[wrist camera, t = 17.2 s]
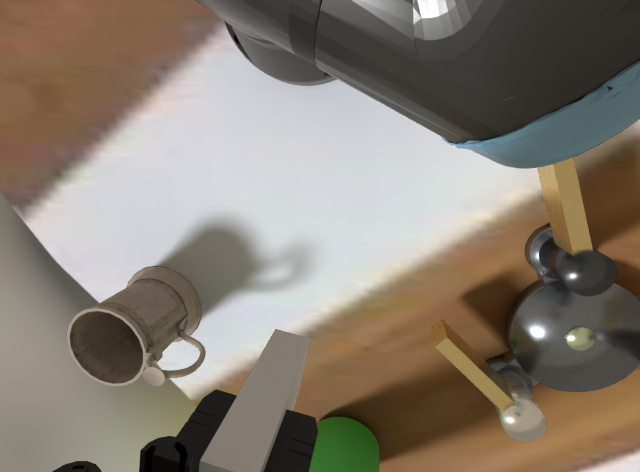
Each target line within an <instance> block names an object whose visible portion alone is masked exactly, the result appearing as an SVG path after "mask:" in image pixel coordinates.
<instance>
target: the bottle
mask: <svg viewBox="0 0 640 472" xmlns="http://www.w3.org/2000/svg"><path fill="white" fill-rule="evenodd" d="M317 428H318V435H317V439H316V443H315V447H314V452H313V456H312V460H311V465H310V469H309V472H379V455H380V449H379V445H378V442H377V439H376V437H375V436H374V435H373V433H372V432H371V431H370V429H369V428H367V427H366V426H364V425H363V424H362V423H360V422H359V421H356V420H353V419H350V418H347V417H331V418H327V419H324V420H321V421H320V422H318V423H317Z"/></svg>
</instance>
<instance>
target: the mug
mask: <svg viewBox="0 0 640 472" xmlns="http://www.w3.org/2000/svg"><path fill="white" fill-rule="evenodd" d="M200 319H201V305H200V302H199V298H198V295H197V293H196V291H195V290H194V288H193V287H192V285H191V284H190V283H189V282H188V281H187V280H186V279H185V278H184V277H183V276H182V275H181V274H179V273H177V272H175V271H173V270H171V269H169V268H163V267H158V266H155V267H149V268H144V269H142V270H141V271H139V272H137V273H135V274H134V275H133V277H132V278H131V279H130V281H129V282H128V284H127V287H126V288H125V289H124V290H122V291H120V292H118V293H117V294H115V295H113V296H112V297H110V298H108V299H107V300H105V301H103V302H101V303H100V304H98V305H96V306H94V307H89V308H87V309H85V310H83V311H82V312H80V313H78V314H77V315H76V316H75V317H74V318H73V320H72V321H71V322H70V324H69V328H68V332H67V341H68V347H69V350H70V352H71V355H72V357H73V359H74V360H75V362H76V363H77V365H78V366H79V367H80V369H81V370H82V371H84V372H85V373H86V374H87V375H88V376H89V377H91V378H93V379H94V380H96V381H98V382H100V383H102V384H107V385H110V386H126V385H128V384H130V383H132V382H134V381H136V380H137V379H138V378H139V377H140V376H141V375H142V374H143V378H144V379H145V381H146V382H147V383H149V384H150V385H154V386H159V385H162V384H163V383H164V381H165V378H178V377H183V376H186V375H189V374H191V373H192V372H194V371H195V370H196V369H197V368H198V367H199V366H200V365H201V364H202V362H203V361H204V358H205V353H206V351H205V348H204V346H203V345H202V344H201V343H200V342H199V341H197V340H196V339H194V338H192V337H190V335H191V334H192V333H193V332H194V331H195V330H196V329H197V326H198V324H199V321H200ZM183 339H184V340H185V341H187V342H188V343H190V344H192V345H194V346H195V347H197V348H198V349H199V351H200V356H199V358H198V360H197V361H196V362H195V363H194V364H193V365H191V366H190V367H188V368H185V369H181V370H173V371H167V370H160V369H158V368H156V367H152V362H155V363H157V362H158V361H159V360H160V359H161V358H162V352H163V351H164V350H165V349H166V348H167V347H168V346H169V345H170V344H171V343H172V342H179V341H181V340H183Z"/></svg>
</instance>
